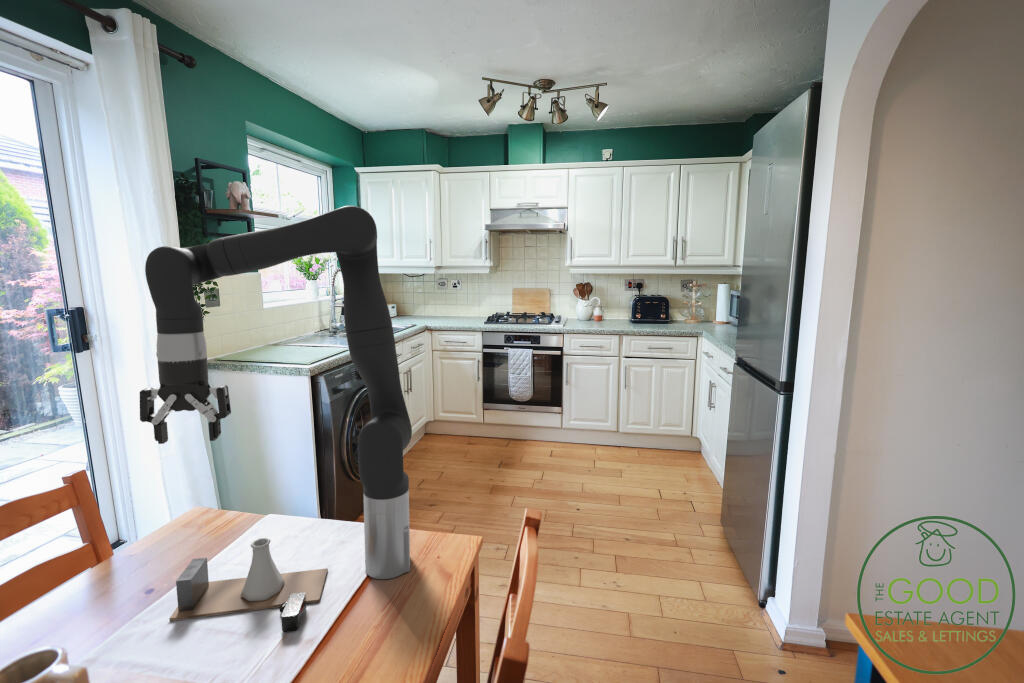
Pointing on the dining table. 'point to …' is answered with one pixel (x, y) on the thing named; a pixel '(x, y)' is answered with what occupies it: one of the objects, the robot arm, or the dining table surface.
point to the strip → (236, 592)
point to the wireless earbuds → (293, 612)
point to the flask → (262, 574)
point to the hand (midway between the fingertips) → (188, 441)
